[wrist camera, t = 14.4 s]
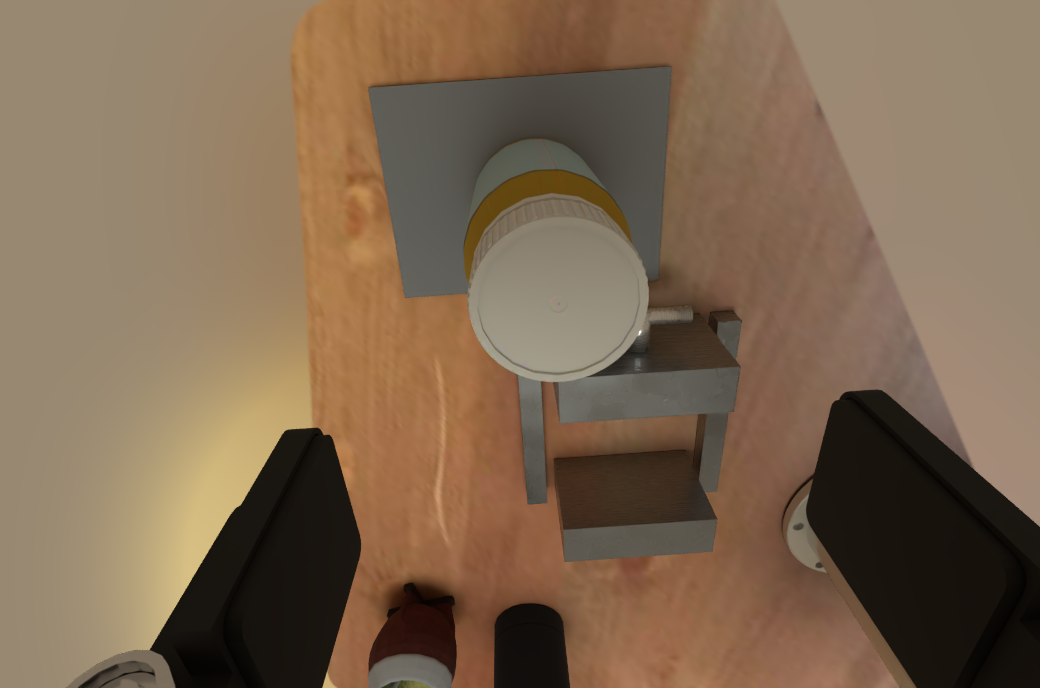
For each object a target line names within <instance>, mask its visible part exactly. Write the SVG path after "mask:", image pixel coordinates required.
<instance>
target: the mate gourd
mask: <svg viewBox="0 0 1040 688" xmlns="http://www.w3.org/2000/svg"><path fill="white" fill-rule="evenodd" d="M404 591H405V593H406V595H405V598H404V601H403V603H402V606H401V607H399V608H394V609H391V610H389V611H388V614H387V617H388V618H389V619H388V620H387V622H386V623H385V625H384V626H383V628H382V629H381V631H380V632H379V634H378V636H377V638H376V639H375V641H374V643H373V646H372V649H371V652H370V657H369V673H368V683H369V688H451V686H452V681H453V678H454V675H455V669H456V657H457V652H456V640H455V624H454V618H453V614H452V609H451V606H452V605H455V603H454V598H453V596H446V597H441V598H437V599H433V600H428V601H424V600H423V599H422V598H421V596H420V594H419V593H418V591H417V589H416V588H415V586H414V585H413V583H408V584H405V585H404Z"/></svg>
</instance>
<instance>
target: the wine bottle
mask: <svg viewBox="0 0 1040 688" xmlns="http://www.w3.org/2000/svg"><path fill="white" fill-rule="evenodd" d="M494 688H570V683H569V673H568V664H567V655H566V646H565V637H564V628H563V621H562V619H561V617H560V615H559V614H558V613H556V612H555V611H554V610H553V609H551V608H548V607H546V606H543V605H537V604H523V605H519V606H515V607H512V608H510V609H508V610H506V611H504V612H503V613H502V614H501V615H500V616H499V617H498V618H497V621H496V623H495V648H494Z"/></svg>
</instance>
